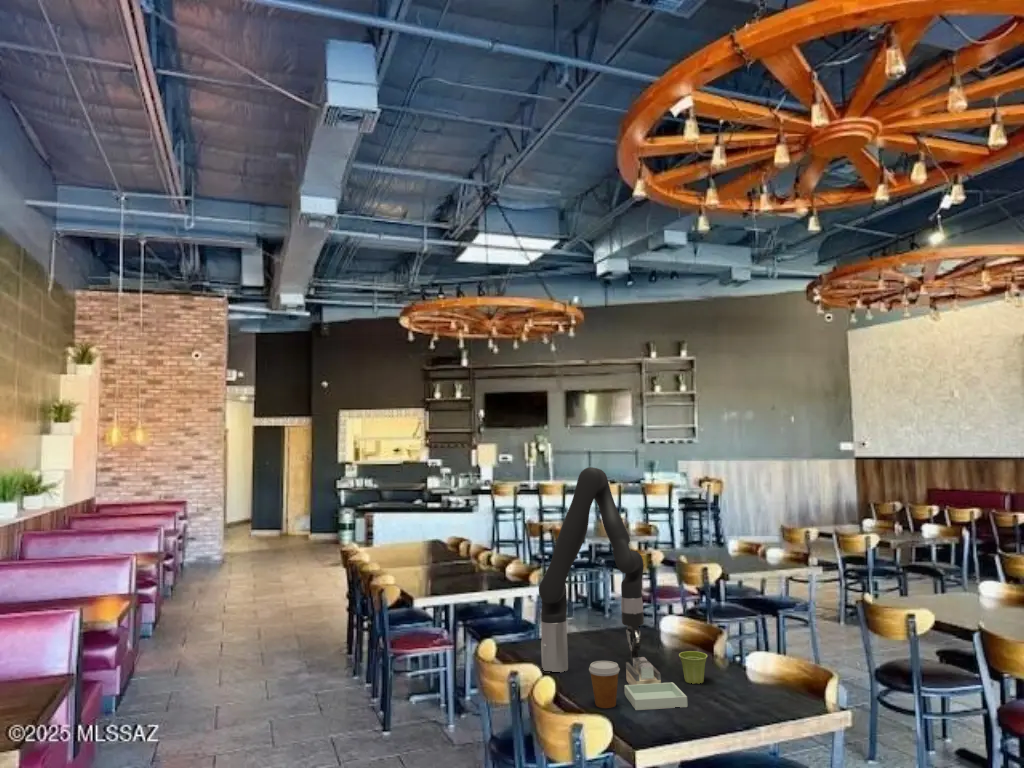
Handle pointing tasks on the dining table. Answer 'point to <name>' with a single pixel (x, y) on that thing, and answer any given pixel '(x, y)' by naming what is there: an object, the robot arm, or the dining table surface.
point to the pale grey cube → (645, 671)
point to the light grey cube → (638, 662)
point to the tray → (655, 696)
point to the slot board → (635, 679)
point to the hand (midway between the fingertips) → (634, 661)
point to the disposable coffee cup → (604, 683)
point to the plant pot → (693, 666)
